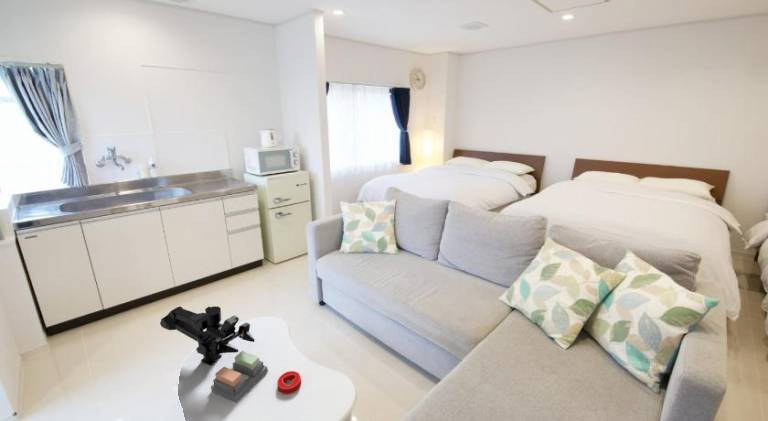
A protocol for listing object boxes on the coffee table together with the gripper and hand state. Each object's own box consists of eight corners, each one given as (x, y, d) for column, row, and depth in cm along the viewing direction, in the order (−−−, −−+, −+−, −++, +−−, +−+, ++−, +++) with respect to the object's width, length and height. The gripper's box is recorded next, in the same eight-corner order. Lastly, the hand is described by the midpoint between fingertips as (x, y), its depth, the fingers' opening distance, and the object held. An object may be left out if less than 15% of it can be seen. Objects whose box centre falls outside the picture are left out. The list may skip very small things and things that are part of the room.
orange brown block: (216, 381, 140) (215, 373, 139) (225, 373, 144) (223, 366, 142) (234, 389, 136) (232, 381, 135) (242, 381, 140) (241, 373, 138)
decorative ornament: (279, 378, 147) (278, 372, 146) (301, 374, 149) (301, 368, 148) (277, 396, 138) (276, 390, 137) (300, 392, 140) (300, 386, 139)
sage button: (235, 364, 148) (234, 357, 147) (243, 357, 152) (242, 350, 151) (252, 371, 145) (251, 364, 143) (260, 364, 148) (258, 357, 147)
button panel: (211, 391, 141) (209, 381, 139) (244, 361, 156) (242, 352, 154) (236, 402, 135) (233, 392, 133) (267, 371, 151) (266, 361, 149)
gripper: (203, 323, 138) (231, 339, 133) (238, 306, 155) (264, 320, 150) (200, 347, 140) (227, 363, 135) (235, 327, 157) (260, 341, 152)
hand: (246, 345), depth 143 cm, fingers open, 9 cm apart
